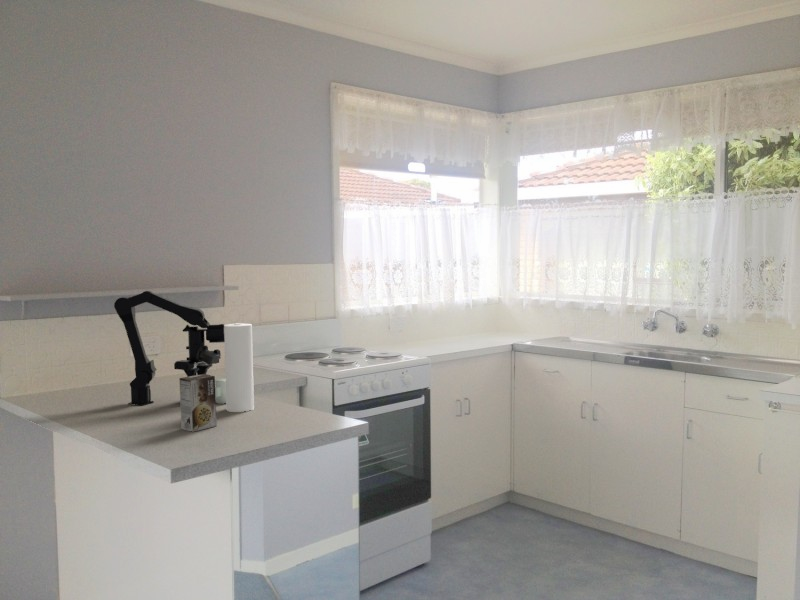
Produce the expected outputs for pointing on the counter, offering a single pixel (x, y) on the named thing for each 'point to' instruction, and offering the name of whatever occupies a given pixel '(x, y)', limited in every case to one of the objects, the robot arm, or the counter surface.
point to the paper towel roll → (239, 367)
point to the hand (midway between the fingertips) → (197, 385)
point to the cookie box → (198, 402)
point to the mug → (220, 391)
